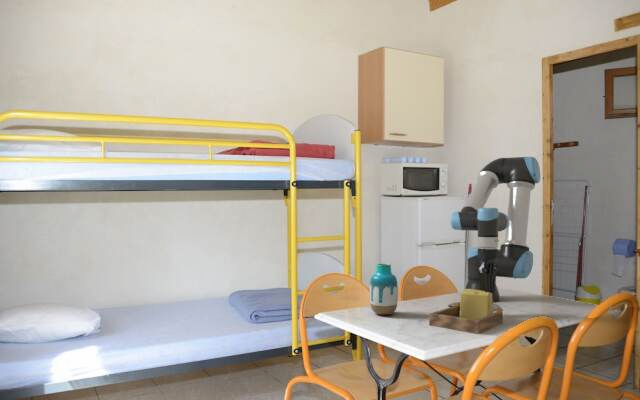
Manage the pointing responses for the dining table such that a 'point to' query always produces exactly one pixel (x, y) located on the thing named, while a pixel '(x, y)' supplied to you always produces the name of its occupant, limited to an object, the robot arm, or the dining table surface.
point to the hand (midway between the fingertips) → (487, 310)
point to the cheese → (475, 304)
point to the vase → (383, 290)
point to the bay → (464, 320)
